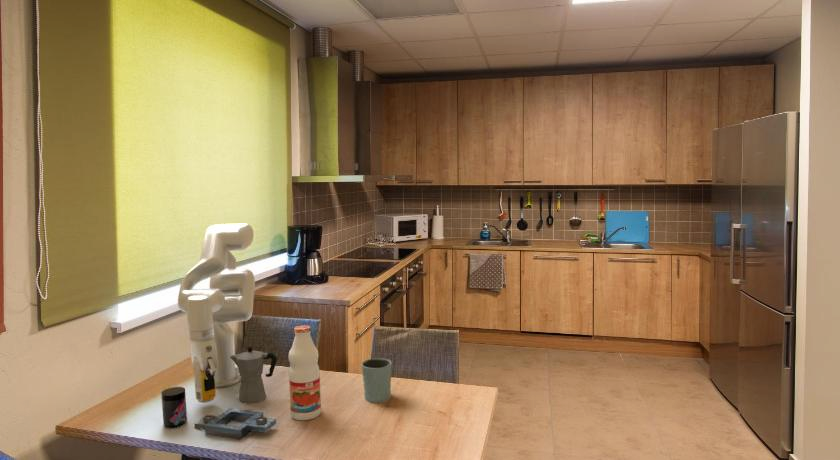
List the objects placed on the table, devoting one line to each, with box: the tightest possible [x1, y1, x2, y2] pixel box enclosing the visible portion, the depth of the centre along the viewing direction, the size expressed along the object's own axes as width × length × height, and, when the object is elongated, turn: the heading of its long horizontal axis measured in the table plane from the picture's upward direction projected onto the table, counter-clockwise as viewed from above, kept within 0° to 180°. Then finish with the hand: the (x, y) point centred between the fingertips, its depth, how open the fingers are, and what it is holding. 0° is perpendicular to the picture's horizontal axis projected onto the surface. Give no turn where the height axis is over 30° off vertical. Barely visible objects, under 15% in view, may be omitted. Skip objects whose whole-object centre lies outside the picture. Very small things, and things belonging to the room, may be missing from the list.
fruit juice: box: [288, 324, 322, 421], centre depth 177 cm, size 9×9×28 cm
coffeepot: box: [230, 345, 278, 405], centre depth 190 cm, size 15×9×18 cm, turn 92°
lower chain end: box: [193, 414, 253, 441], centre depth 170 cm, size 18×12×2 cm, turn 74°
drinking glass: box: [361, 357, 393, 404], centre depth 190 cm, size 10×10×12 cm
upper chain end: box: [204, 407, 277, 435], centre depth 168 cm, size 18×12×2 cm, turn 74°
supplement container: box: [160, 386, 188, 429], centre depth 173 cm, size 7×7×10 cm
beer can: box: [192, 357, 217, 403], centre depth 184 cm, size 6×6×15 cm
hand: (205, 386), depth 185 cm, fingers closed on beer can, 6 cm apart
